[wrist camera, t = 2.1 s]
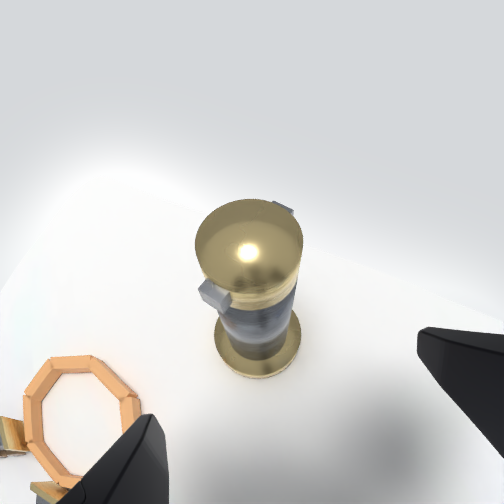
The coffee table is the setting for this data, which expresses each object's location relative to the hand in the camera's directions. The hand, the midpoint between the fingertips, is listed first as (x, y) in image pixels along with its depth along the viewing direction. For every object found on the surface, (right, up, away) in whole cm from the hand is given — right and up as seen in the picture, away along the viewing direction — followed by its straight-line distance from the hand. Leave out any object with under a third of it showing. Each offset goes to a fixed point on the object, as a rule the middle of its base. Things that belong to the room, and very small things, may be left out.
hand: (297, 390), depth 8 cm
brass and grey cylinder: (-1, -2, +13) cm, 13 cm away
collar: (-15, -9, +9) cm, 20 cm away
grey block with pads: (-24, -13, +7) cm, 28 cm away
